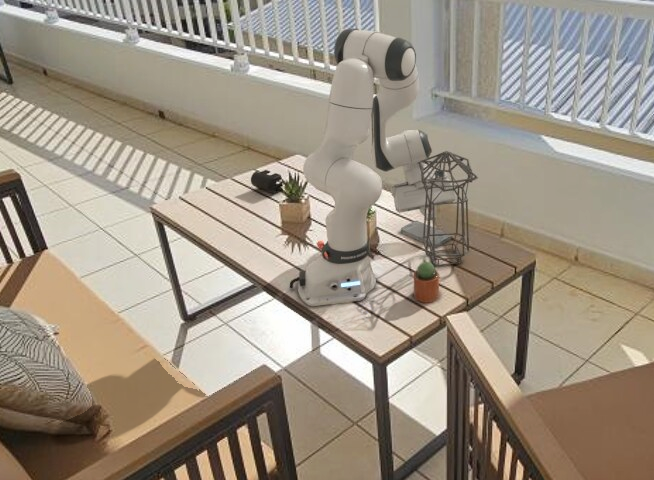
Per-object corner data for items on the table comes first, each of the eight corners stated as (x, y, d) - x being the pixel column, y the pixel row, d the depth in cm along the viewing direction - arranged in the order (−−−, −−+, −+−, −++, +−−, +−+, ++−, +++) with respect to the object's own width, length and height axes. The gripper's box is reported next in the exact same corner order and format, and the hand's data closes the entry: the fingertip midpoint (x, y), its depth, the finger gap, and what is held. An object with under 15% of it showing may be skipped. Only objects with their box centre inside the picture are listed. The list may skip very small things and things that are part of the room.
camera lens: (252, 190, 235) (249, 174, 232) (266, 183, 240) (263, 167, 236) (270, 196, 230) (267, 180, 227) (284, 190, 235) (281, 173, 231)
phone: (435, 248, 196) (435, 244, 196) (399, 232, 206) (399, 228, 205) (452, 238, 201) (452, 235, 201) (416, 223, 211) (416, 219, 210)
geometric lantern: (418, 247, 197) (415, 143, 179) (466, 243, 198) (469, 140, 180) (424, 273, 184) (422, 164, 166) (476, 269, 185) (480, 161, 167)
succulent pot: (419, 304, 171) (418, 272, 165) (410, 291, 176) (409, 259, 171) (442, 299, 173) (442, 266, 167) (433, 286, 178) (433, 254, 173)
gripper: (391, 181, 193) (402, 222, 191) (450, 170, 199) (463, 210, 197) (387, 188, 199) (398, 229, 197) (445, 178, 205) (457, 217, 203)
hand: (431, 219), depth 197 cm, fingers closed
